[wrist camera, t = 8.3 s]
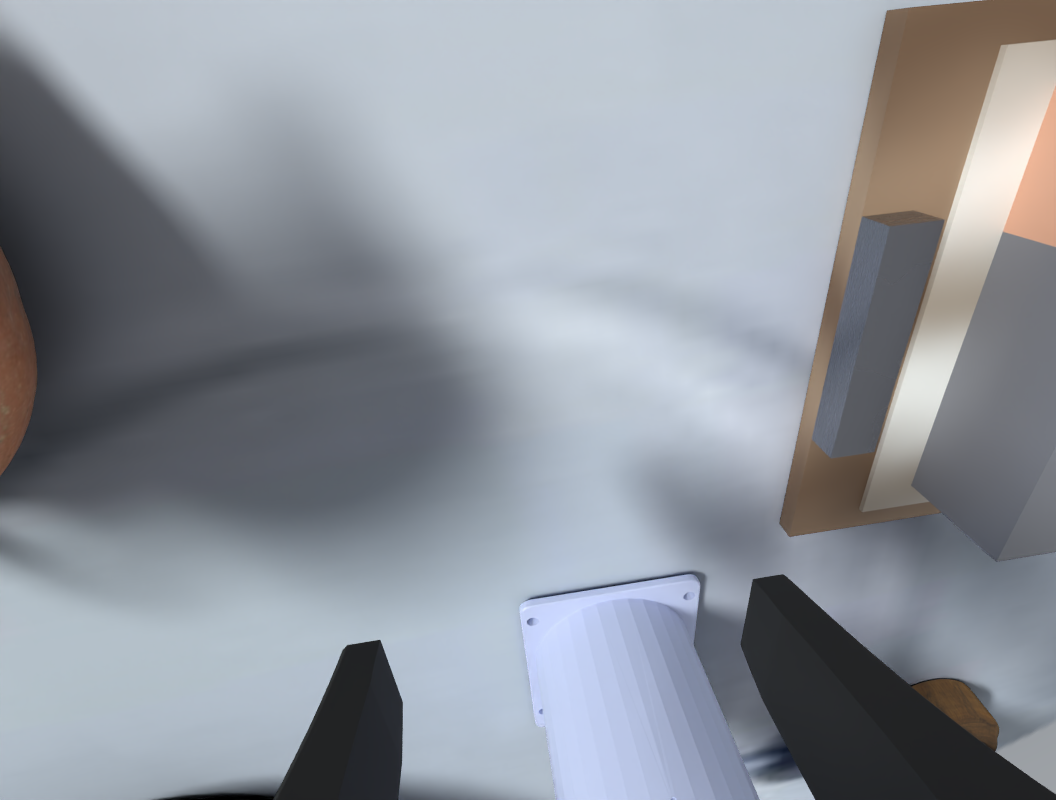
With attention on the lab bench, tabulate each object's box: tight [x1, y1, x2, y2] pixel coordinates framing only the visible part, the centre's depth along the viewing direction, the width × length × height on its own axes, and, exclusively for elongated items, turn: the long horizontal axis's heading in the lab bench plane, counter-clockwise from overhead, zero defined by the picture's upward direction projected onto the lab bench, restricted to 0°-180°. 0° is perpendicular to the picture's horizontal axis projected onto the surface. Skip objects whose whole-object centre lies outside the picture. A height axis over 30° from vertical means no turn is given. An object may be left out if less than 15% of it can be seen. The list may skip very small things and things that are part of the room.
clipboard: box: [780, 0, 1056, 537], centre depth 18 cm, size 18×13×2 cm
